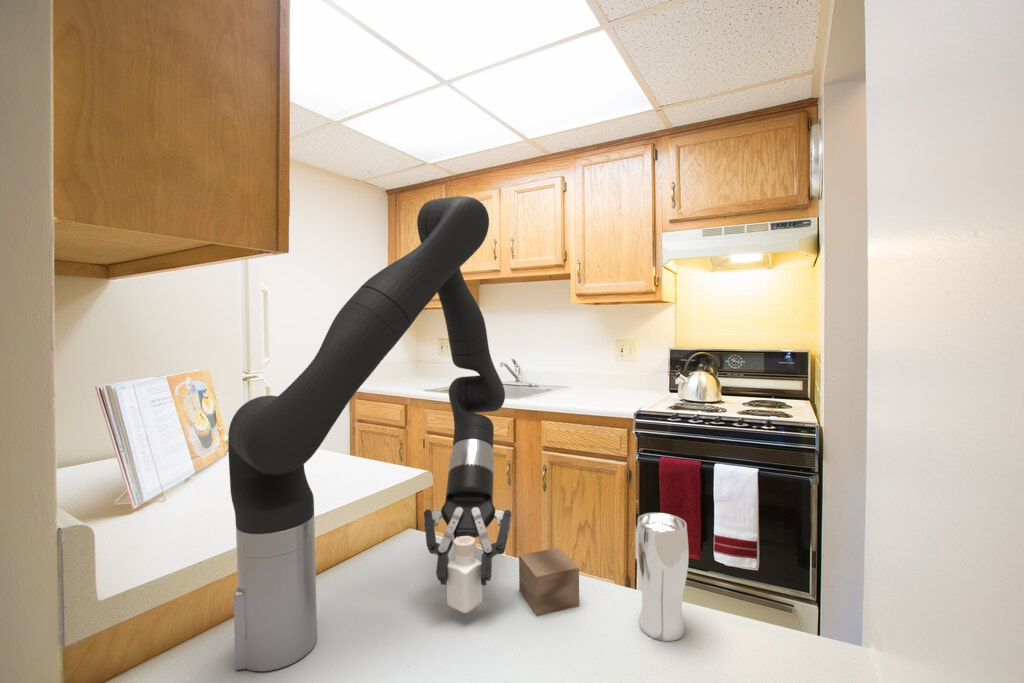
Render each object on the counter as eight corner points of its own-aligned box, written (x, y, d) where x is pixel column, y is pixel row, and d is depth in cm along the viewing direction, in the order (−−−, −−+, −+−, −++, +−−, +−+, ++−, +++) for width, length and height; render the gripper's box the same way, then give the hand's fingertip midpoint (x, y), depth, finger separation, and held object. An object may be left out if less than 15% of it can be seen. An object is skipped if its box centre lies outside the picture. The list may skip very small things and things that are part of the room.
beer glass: (681, 613, 69) (681, 512, 69) (694, 645, 62) (694, 533, 62) (632, 611, 70) (632, 511, 70) (640, 642, 63) (640, 531, 63)
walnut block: (536, 617, 69) (536, 576, 69) (519, 592, 76) (519, 555, 76) (579, 606, 72) (579, 567, 71) (559, 583, 78) (558, 547, 78)
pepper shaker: (465, 616, 66) (465, 549, 66) (445, 606, 69) (444, 541, 69) (484, 602, 70) (483, 539, 69) (464, 593, 72) (463, 532, 72)
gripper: (424, 462, 76) (408, 574, 65) (514, 462, 76) (514, 575, 64) (430, 483, 82) (416, 591, 70) (514, 484, 82) (514, 591, 70)
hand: (463, 582), depth 67 cm, fingers closed on pepper shaker, 5 cm apart
